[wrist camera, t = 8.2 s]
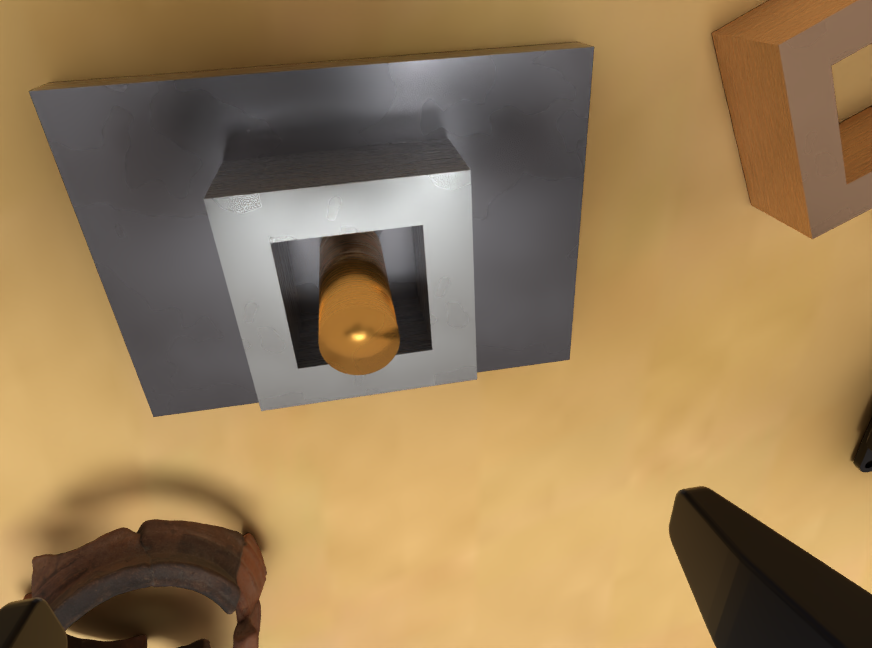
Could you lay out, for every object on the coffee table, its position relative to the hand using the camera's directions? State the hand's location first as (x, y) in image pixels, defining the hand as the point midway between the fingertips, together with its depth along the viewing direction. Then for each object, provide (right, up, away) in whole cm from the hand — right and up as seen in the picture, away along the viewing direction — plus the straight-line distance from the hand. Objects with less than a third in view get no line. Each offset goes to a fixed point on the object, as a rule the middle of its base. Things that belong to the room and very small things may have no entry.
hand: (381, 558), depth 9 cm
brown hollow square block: (+13, +11, +10) cm, 19 cm away
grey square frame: (-2, +5, +9) cm, 11 cm away
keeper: (-2, +6, +10) cm, 12 cm away
